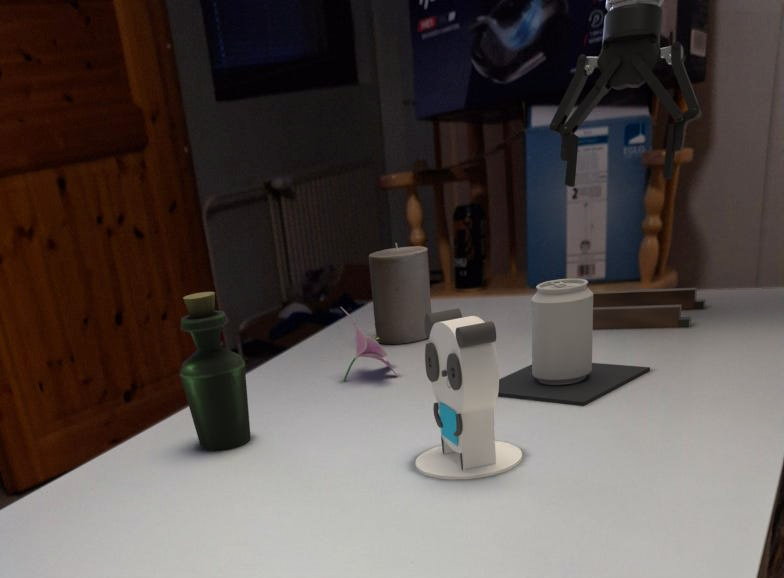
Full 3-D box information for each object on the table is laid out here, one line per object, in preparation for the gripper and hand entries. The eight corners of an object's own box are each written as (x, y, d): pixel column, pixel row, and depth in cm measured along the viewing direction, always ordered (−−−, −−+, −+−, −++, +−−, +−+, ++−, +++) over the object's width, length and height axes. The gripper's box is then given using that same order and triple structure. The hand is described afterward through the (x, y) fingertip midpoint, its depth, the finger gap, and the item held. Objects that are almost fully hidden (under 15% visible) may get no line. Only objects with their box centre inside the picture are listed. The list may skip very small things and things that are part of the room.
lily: (383, 397, 131) (408, 329, 128) (307, 368, 132) (330, 300, 129) (395, 399, 142) (419, 337, 139) (325, 373, 144) (347, 311, 141)
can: (556, 390, 117) (556, 290, 111) (520, 380, 123) (518, 285, 117) (604, 376, 119) (606, 278, 113) (567, 367, 125) (567, 273, 120)
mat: (650, 371, 121) (650, 367, 120) (583, 406, 112) (583, 402, 111) (543, 362, 131) (543, 358, 131) (475, 394, 122) (474, 390, 122)
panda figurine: (400, 454, 105) (388, 317, 98) (495, 435, 107) (490, 299, 99) (435, 487, 95) (425, 337, 88) (539, 465, 96) (537, 316, 89)
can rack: (705, 306, 147) (706, 287, 146) (688, 327, 137) (690, 306, 136) (573, 311, 157) (573, 292, 156) (549, 330, 147) (549, 310, 146)
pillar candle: (364, 344, 157) (355, 249, 150) (398, 330, 163) (390, 238, 156) (412, 345, 151) (404, 247, 144) (445, 331, 157) (439, 236, 150)
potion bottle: (250, 428, 122) (226, 285, 114) (263, 444, 115) (238, 293, 107) (190, 440, 121) (161, 297, 112) (199, 458, 114) (169, 306, 105)
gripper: (535, 16, 129) (524, 184, 136) (730, -15, 117) (707, 170, 124) (550, 31, 135) (538, 191, 142) (736, 2, 124) (714, 178, 130)
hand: (617, 182), depth 133 cm, fingers open, 13 cm apart
